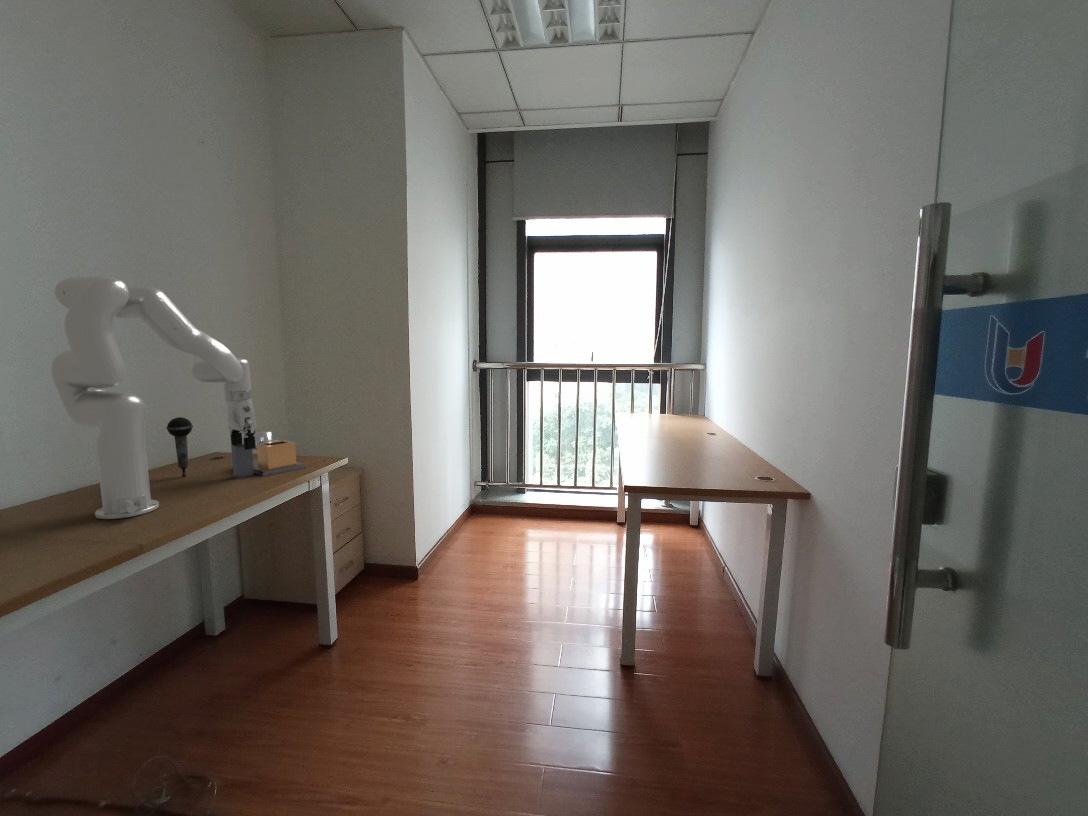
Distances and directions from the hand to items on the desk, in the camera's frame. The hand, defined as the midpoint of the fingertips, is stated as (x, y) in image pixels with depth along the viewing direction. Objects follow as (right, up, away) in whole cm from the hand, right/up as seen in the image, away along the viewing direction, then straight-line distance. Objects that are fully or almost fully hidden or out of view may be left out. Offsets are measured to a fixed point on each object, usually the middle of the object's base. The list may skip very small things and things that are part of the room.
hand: (243, 446), depth 157 cm
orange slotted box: (+2, -9, +12) cm, 15 cm away
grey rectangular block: (0, -10, +1) cm, 10 cm away
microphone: (-19, -10, 0) cm, 22 cm away
